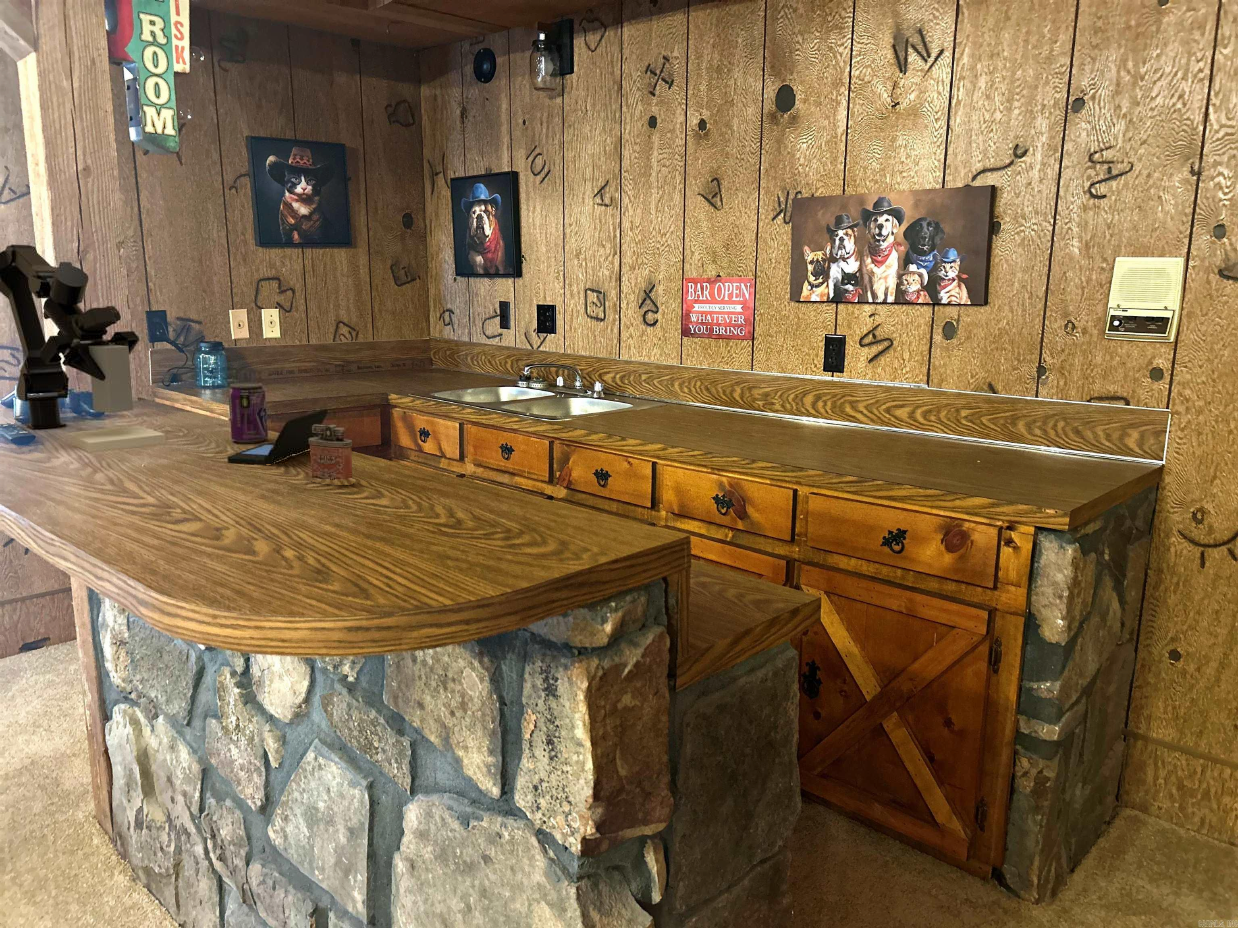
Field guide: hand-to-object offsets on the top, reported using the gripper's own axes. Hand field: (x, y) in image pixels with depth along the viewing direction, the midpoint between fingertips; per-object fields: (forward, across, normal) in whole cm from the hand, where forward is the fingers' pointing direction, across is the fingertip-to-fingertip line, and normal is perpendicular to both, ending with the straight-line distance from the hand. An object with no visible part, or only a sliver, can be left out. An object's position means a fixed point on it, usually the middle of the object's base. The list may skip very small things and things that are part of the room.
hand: (115, 378), depth 179 cm
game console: (+36, +4, -16) cm, 40 cm away
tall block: (+4, 0, +6) cm, 7 cm away
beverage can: (+24, +14, -5) cm, 28 cm away
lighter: (+52, -9, -33) cm, 62 cm away
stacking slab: (+9, 0, +11) cm, 14 cm away
